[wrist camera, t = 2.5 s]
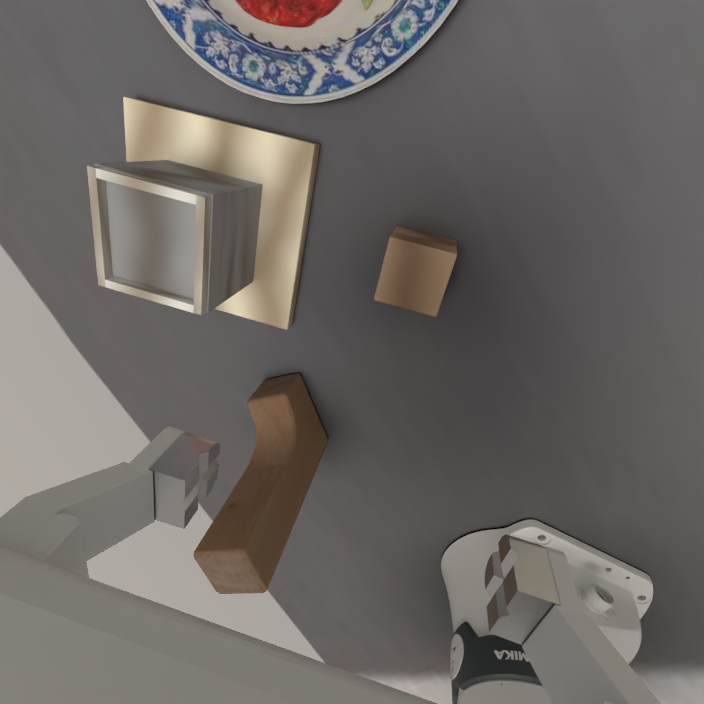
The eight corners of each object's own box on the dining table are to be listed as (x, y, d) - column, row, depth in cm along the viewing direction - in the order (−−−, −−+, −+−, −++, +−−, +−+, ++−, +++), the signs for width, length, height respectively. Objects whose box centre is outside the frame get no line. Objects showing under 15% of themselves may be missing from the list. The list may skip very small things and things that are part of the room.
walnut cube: (456, 240, 34) (457, 254, 29) (437, 296, 36) (436, 317, 32) (397, 224, 34) (389, 236, 30) (382, 281, 36) (373, 299, 32)
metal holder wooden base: (320, 144, 32) (270, 143, 23) (292, 323, 40) (247, 375, 31) (135, 98, 34) (22, 81, 25) (142, 280, 41) (57, 317, 32)
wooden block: (263, 378, 44) (158, 509, 28) (300, 371, 42) (212, 503, 27) (294, 445, 47) (216, 596, 31) (329, 440, 46) (267, 595, 30)
